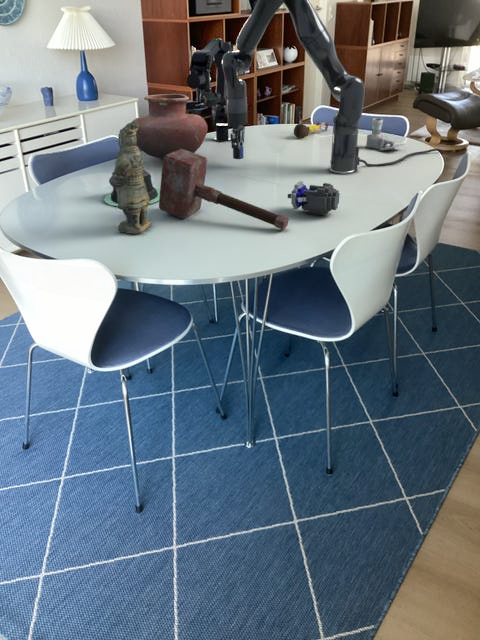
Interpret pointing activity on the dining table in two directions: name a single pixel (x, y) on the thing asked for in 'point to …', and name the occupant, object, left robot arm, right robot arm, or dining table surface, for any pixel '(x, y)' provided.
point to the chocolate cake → (152, 192)
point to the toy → (315, 198)
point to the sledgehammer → (200, 190)
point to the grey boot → (379, 137)
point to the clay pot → (169, 126)
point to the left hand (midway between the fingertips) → (205, 124)
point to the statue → (131, 182)
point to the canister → (240, 152)
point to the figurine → (307, 129)
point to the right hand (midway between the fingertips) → (238, 156)
